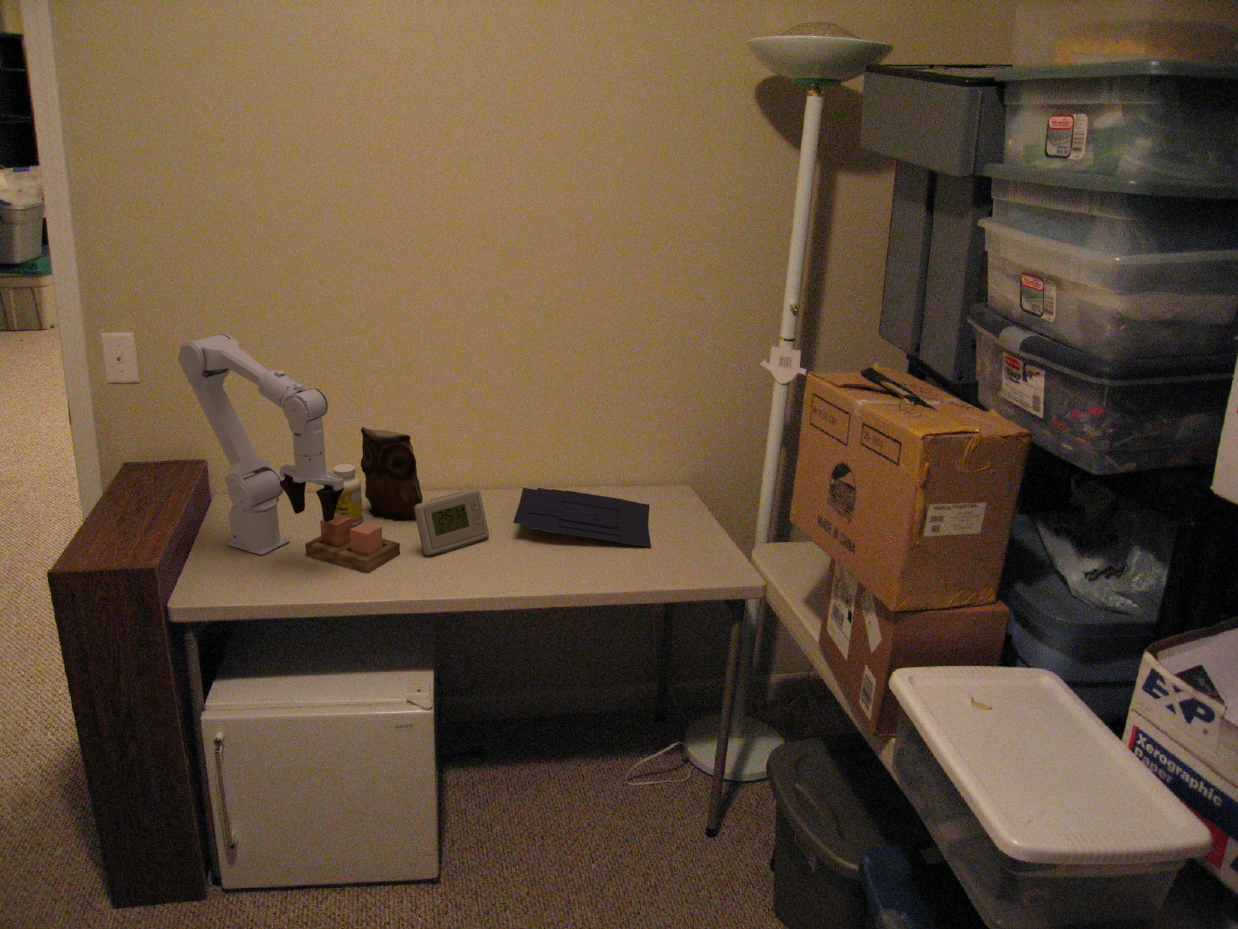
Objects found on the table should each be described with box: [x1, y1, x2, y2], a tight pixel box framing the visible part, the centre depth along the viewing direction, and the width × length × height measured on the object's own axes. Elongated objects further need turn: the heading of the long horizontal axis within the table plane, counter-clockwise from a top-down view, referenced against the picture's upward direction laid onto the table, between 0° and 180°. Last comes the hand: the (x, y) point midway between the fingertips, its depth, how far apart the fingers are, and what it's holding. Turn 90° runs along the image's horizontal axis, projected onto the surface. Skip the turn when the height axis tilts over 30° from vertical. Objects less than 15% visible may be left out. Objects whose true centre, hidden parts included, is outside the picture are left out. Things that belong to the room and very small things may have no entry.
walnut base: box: [304, 513, 401, 574], centre depth 196 cm, size 16×10×7 cm, turn 64°
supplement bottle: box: [332, 463, 363, 527], centre depth 210 cm, size 7×7×13 cm
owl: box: [360, 426, 424, 522], centre depth 214 cm, size 13×13×20 cm
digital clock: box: [414, 488, 490, 556], centre depth 202 cm, size 16×9×11 cm, turn 121°
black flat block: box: [512, 487, 652, 548], centre depth 216 cm, size 24×30×4 cm
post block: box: [350, 521, 383, 556], centre depth 194 cm, size 4×4×6 cm
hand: (314, 516), depth 190 cm, fingers open, 7 cm apart
